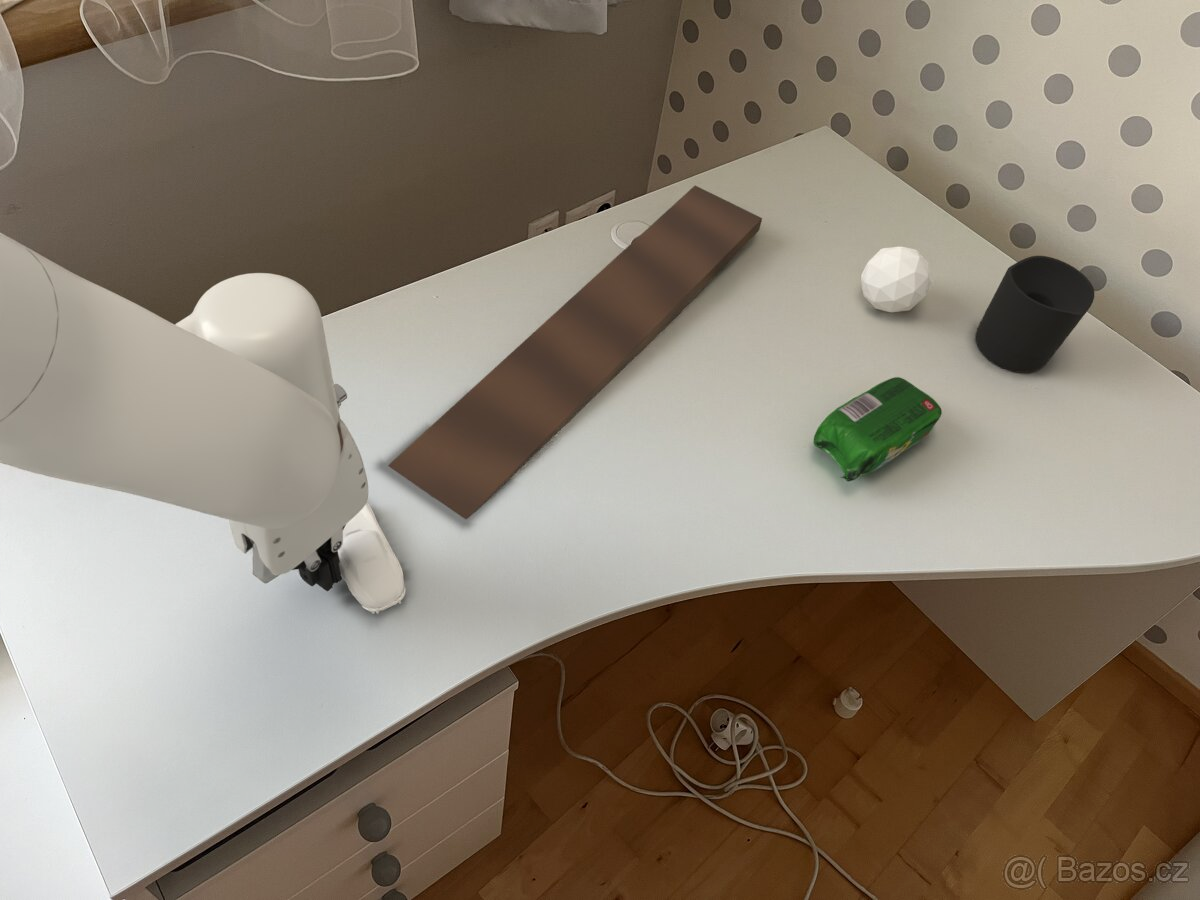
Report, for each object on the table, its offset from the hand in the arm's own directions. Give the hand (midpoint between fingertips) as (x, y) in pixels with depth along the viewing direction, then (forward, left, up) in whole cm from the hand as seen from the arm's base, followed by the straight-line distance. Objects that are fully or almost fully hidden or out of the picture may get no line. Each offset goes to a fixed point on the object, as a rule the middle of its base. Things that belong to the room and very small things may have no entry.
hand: (322, 576), depth 76 cm
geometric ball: (+69, -23, -2) cm, 72 cm away
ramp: (+41, 0, -3) cm, 41 cm away
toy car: (+4, -1, -2) cm, 4 cm away
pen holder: (+72, -38, -2) cm, 81 cm away
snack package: (+47, -31, -2) cm, 56 cm away
